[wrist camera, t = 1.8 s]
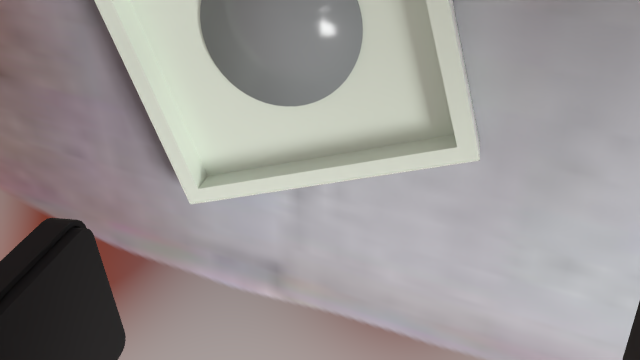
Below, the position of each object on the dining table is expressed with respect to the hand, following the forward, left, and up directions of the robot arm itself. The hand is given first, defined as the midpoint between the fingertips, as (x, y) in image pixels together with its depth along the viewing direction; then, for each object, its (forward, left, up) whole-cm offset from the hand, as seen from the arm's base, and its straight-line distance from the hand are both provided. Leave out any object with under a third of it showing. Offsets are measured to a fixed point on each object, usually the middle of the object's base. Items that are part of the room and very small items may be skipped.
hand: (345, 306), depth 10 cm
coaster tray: (+8, 0, -23) cm, 25 cm away
